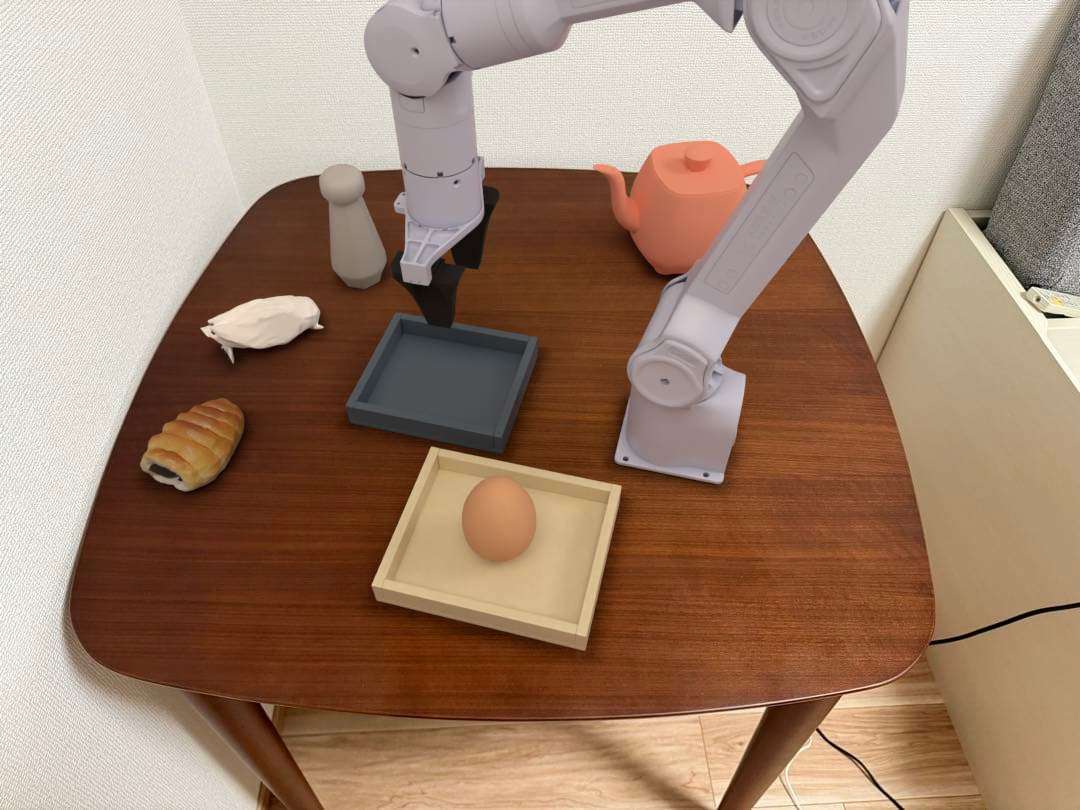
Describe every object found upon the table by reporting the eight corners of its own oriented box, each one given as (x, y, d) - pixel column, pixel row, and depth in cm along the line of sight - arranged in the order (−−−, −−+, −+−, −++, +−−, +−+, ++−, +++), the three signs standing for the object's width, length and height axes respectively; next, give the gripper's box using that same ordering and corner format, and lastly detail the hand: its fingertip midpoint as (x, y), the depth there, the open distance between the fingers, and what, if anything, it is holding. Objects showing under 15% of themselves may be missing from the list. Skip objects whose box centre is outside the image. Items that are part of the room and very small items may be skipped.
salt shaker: (379, 298, 86) (357, 193, 76) (327, 291, 87) (299, 186, 77) (396, 262, 90) (377, 158, 80) (347, 256, 90) (322, 152, 80)
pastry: (206, 402, 77) (193, 374, 74) (267, 423, 75) (256, 396, 72) (139, 478, 71) (122, 451, 68) (203, 503, 70) (188, 477, 67)
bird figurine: (250, 386, 80) (333, 325, 82) (207, 339, 75) (297, 275, 77) (233, 363, 83) (314, 305, 85) (192, 317, 78) (278, 256, 80)
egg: (531, 511, 68) (529, 451, 62) (542, 572, 64) (541, 515, 58) (462, 521, 68) (453, 460, 61) (469, 583, 64) (460, 526, 58)
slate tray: (538, 355, 80) (538, 337, 79) (502, 454, 73) (501, 437, 71) (398, 329, 83) (395, 311, 81) (349, 423, 75) (344, 405, 73)
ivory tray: (619, 502, 69) (621, 485, 67) (585, 651, 61) (586, 636, 59) (434, 463, 72) (431, 446, 70) (376, 600, 64) (371, 585, 62)
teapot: (576, 221, 94) (579, 125, 85) (743, 202, 96) (764, 107, 87) (601, 299, 86) (608, 202, 76) (784, 276, 88) (812, 179, 78)
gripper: (421, 99, 66) (438, 235, 76) (350, 205, 57) (380, 343, 67) (505, 110, 65) (511, 247, 75) (446, 220, 55) (462, 359, 66)
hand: (454, 293), depth 71 cm, fingers open, 7 cm apart
